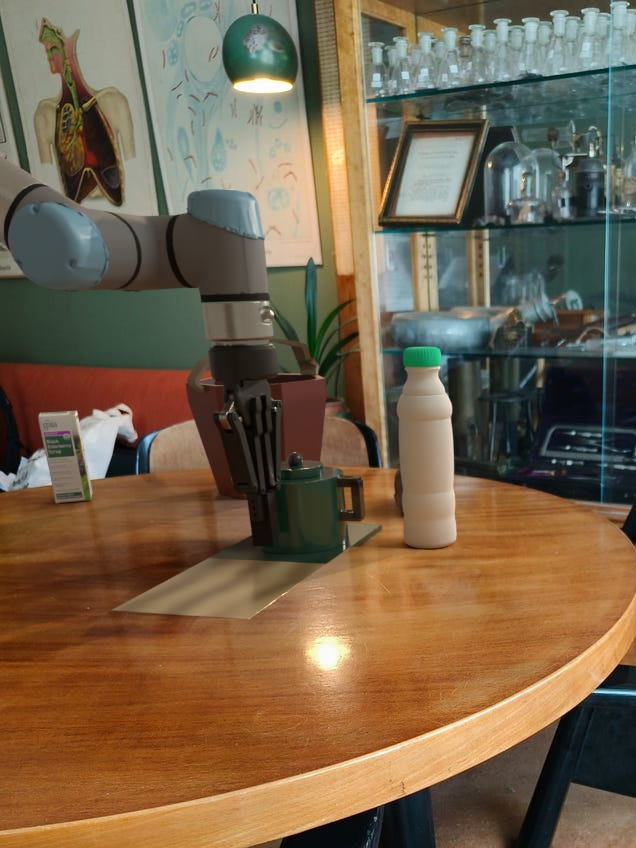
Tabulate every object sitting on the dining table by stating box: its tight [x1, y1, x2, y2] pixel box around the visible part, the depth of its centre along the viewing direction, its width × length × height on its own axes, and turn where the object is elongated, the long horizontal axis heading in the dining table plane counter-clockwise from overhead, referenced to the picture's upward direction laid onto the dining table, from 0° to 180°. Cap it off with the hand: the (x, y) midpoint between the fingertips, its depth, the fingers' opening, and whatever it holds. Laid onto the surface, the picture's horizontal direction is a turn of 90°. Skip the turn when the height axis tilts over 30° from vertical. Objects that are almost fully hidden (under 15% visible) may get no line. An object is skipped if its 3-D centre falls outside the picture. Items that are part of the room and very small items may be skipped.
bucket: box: [185, 337, 327, 500], centre depth 150 cm, size 24×22×25 cm
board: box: [111, 522, 383, 621], centre depth 110 cm, size 16×40×1 cm, turn 166°
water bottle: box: [396, 346, 457, 550], centre depth 114 cm, size 7×7×25 cm
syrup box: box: [37, 410, 94, 505], centre depth 148 cm, size 6×6×14 cm
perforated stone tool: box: [393, 467, 403, 512], centre depth 137 cm, size 15×5×7 cm, turn 1°
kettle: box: [231, 452, 366, 554], centre depth 116 cm, size 18×12×12 cm, turn 75°
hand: (266, 544), depth 108 cm, fingers closed
